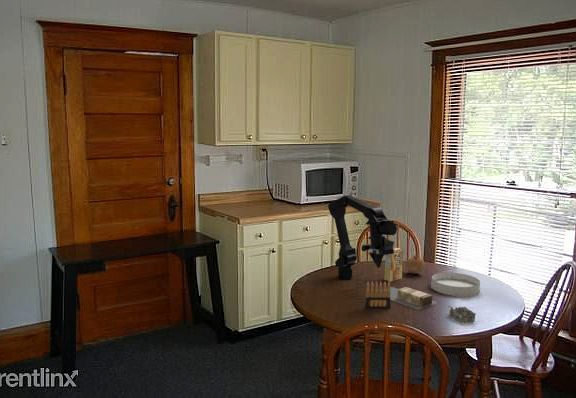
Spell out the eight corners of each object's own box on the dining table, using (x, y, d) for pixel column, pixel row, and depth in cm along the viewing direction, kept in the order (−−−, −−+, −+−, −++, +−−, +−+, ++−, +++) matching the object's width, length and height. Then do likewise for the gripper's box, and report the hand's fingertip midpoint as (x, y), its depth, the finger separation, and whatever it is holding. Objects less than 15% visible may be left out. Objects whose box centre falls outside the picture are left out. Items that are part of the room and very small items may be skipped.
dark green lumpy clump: (446, 314, 218) (447, 305, 217) (463, 313, 219) (463, 303, 219) (460, 324, 207) (461, 314, 207) (477, 322, 209) (478, 312, 208)
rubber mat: (371, 293, 240) (371, 292, 240) (391, 287, 249) (391, 286, 249) (418, 310, 220) (418, 309, 220) (438, 303, 229) (438, 302, 229)
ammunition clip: (389, 307, 224) (390, 280, 222) (390, 309, 222) (391, 281, 220) (364, 307, 224) (365, 280, 222) (365, 308, 222) (366, 281, 220)
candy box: (395, 277, 265) (396, 247, 263) (402, 279, 262) (403, 249, 260) (383, 280, 260) (385, 250, 257) (390, 282, 257) (391, 252, 254)
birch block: (397, 289, 233) (423, 298, 222) (406, 286, 237) (432, 295, 226) (397, 298, 234) (423, 307, 223) (406, 295, 238) (431, 304, 227)
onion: (426, 277, 266) (427, 257, 264) (407, 276, 266) (408, 257, 264) (421, 271, 275) (422, 252, 274) (403, 271, 275) (404, 252, 274)
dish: (482, 286, 254) (482, 276, 253) (477, 300, 234) (478, 289, 233) (435, 279, 263) (435, 270, 262) (426, 293, 243) (427, 282, 242)
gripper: (402, 233, 239) (405, 267, 240) (379, 230, 256) (381, 262, 257) (382, 236, 234) (384, 271, 235) (359, 233, 251) (362, 265, 252)
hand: (378, 267), depth 245 cm, fingers closed
